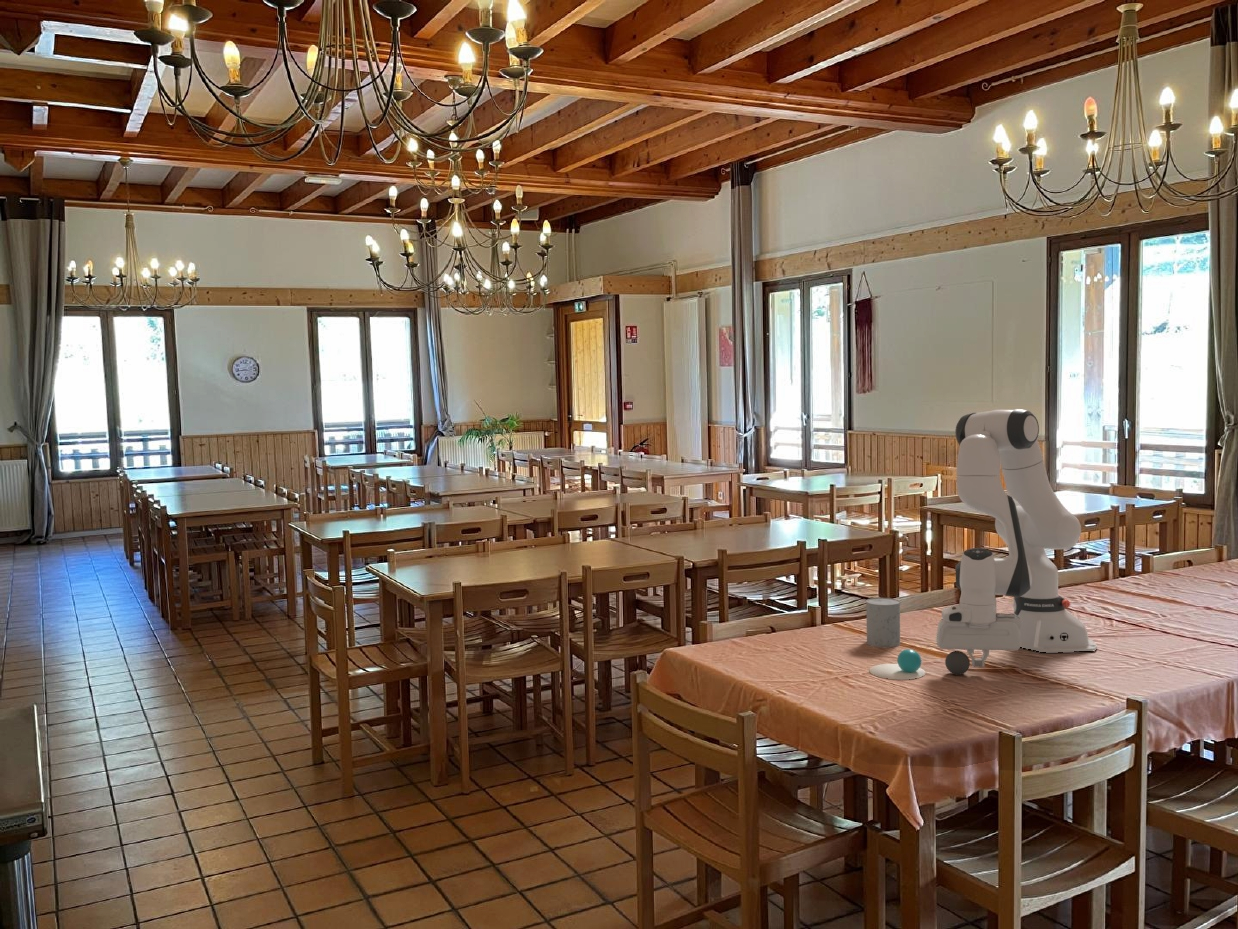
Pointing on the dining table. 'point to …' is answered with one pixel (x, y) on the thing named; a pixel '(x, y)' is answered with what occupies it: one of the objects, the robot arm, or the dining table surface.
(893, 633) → the grey speckled stone cylinder
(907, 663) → the object ball
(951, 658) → the dark grey ball
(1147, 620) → the dining table surface
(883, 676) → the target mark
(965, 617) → the robot arm
